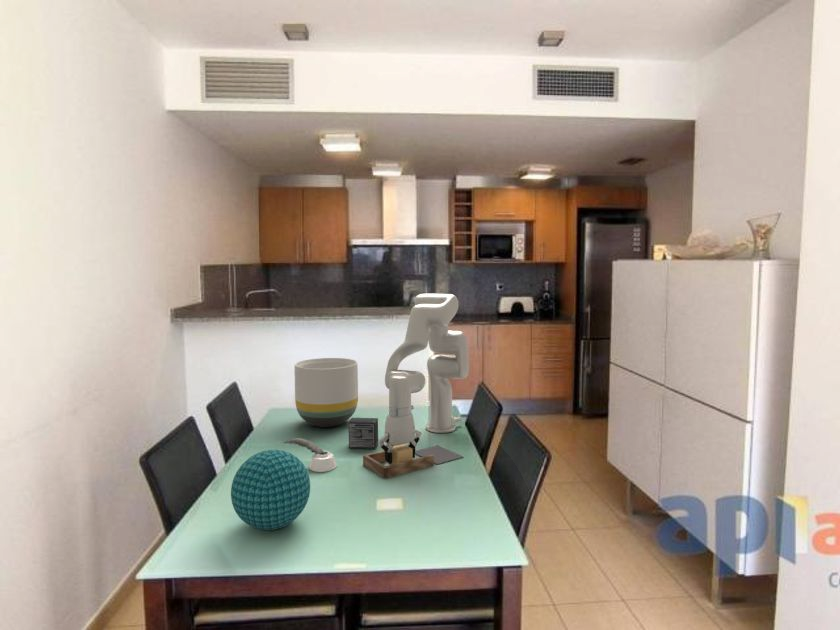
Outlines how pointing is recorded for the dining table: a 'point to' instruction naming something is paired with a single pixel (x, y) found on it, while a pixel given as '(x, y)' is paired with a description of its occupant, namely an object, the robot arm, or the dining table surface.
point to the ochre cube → (401, 454)
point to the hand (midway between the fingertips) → (400, 459)
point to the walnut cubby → (389, 471)
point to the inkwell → (317, 456)
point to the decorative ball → (270, 489)
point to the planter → (326, 390)
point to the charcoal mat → (438, 454)
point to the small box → (363, 433)
